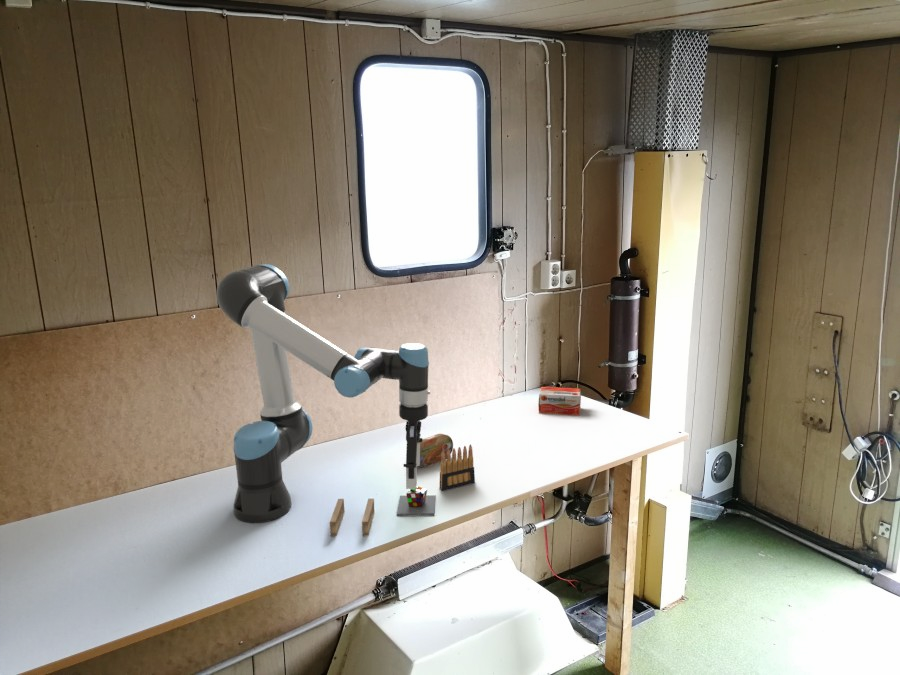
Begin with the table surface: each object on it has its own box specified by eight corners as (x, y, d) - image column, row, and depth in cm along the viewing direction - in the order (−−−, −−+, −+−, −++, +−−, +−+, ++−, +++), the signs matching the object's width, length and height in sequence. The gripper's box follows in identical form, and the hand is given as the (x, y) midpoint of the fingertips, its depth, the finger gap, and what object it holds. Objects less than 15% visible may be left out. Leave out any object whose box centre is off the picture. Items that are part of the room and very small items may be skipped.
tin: (415, 470, 209) (414, 445, 206) (409, 467, 211) (408, 442, 209) (454, 457, 218) (453, 432, 216) (447, 453, 220) (447, 429, 218)
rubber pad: (396, 515, 183) (396, 513, 182) (400, 497, 192) (400, 495, 192) (434, 515, 182) (434, 513, 182) (435, 497, 192) (435, 495, 192)
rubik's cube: (421, 511, 185) (423, 494, 183) (404, 505, 186) (406, 489, 185) (426, 504, 188) (429, 488, 187) (410, 498, 190) (412, 482, 188)
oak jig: (330, 536, 173) (329, 521, 172) (339, 512, 185) (338, 498, 184) (368, 535, 173) (367, 521, 172) (374, 512, 185) (373, 498, 184)
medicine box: (538, 413, 253) (538, 393, 251) (539, 406, 261) (540, 386, 259) (579, 416, 250) (580, 395, 248) (580, 408, 258) (581, 388, 256)
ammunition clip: (442, 491, 196) (441, 452, 193) (439, 488, 197) (438, 450, 194) (475, 483, 200) (474, 444, 197) (472, 480, 202) (471, 442, 199)
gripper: (425, 421, 168) (424, 499, 173) (430, 386, 192) (429, 456, 197) (394, 420, 168) (394, 498, 173) (403, 386, 192) (403, 455, 197)
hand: (413, 476), depth 185 cm, fingers open, 13 cm apart
